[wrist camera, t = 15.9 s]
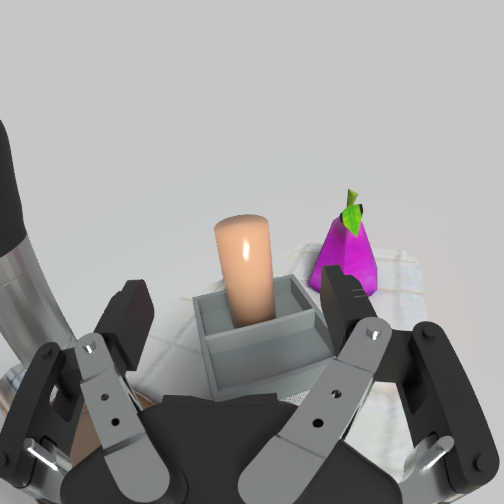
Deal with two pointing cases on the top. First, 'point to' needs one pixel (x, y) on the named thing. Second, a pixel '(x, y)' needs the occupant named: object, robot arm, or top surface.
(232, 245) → the peach pillar candle
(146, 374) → the top surface
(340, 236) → the pear
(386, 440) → the top surface
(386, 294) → the top surface
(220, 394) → the divided storage tray
